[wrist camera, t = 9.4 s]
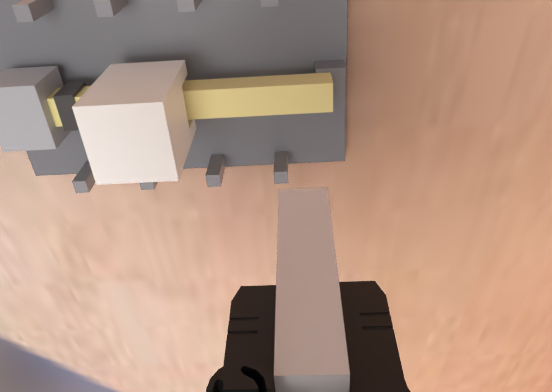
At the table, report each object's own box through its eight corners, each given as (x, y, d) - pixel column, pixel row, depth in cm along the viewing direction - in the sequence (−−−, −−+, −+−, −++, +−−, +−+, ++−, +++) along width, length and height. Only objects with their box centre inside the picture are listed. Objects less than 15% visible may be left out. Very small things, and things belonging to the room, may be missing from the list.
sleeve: (127, 132, 28) (96, 184, 24) (110, 64, 26) (71, 106, 21) (196, 128, 28) (178, 180, 23) (184, 59, 26) (162, 101, 21)
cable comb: (43, 166, 33) (9, 208, 29) (-22, -8, 27) (-77, 13, 23) (343, 151, 32) (351, 192, 28) (345, -32, 26) (356, -14, 22)
